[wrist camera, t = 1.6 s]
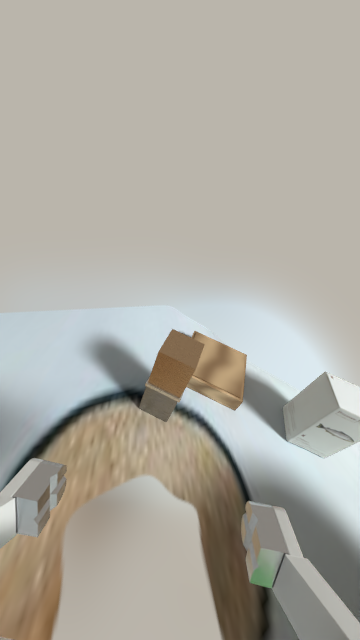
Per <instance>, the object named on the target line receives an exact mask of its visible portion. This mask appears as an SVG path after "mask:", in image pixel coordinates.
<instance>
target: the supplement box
mask: <svg viewBox="0 0 360 640" xmlns="http://www.w3.org/2000/svg"><path fill="white" fill-rule="evenodd" d="M283 416H284V425H285V432H286V439H287V441H288V442H290V443H293V444H295V445H297V446H300V447H302V448H304V449H306V450H308V451H310V452H312V453H314V454H316V455H318V456H320V457H322V458H327V457H329V456H331V455H333V454H335V453H337V452H339V451H341V450H343V449H345V448H347V447H349V446H351V445H353V444H355V443H357V442H359V441H360V387H359V386H357V385H354V384H352V383H350V382H348V381H345V380H343V379H341V378H339V377H336V376H334V375H332V374H329V373H327V372H324V373H323V374H322V375H320V376H319V377H318V378H317V379H316V380H315V381H313V382H312V383H311V384H310V385H309V386H307V387H306V388H305V389H304V390H303V391H301V392H300V393H299V394H298V395H297V396H295V397H294V398H293V399H292V400H291V401H289V402H288V403H287V404H286V405H285V406H283Z"/></svg>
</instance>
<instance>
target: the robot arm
mask: <svg viewBox="0 0 360 640" xmlns="http://www.w3.org/2000/svg"><path fill="white" fill-rule="evenodd" d="M66 471H67V468H66V465H63V464H58V463H54V462H50V461H45V460H41V459H36V458H33V459H31V460H30V461H28V462H27V464H26V465H25V466H24V467H23V468H22V469H21V470H20V471H19V472H18V474H17V475H16V476H15V477H14V478H13V479H12V480H11V481H10V482H9V484H8V485H7V486H6V487H5V488H4V489H3V490H2V491H1V492H0V548H1V547H3V546H4V545H5V544H6V543H7V542H9V541H10V540H11V539H12V538H13V537H15V536H16V533H17V534H23V535H28V536H34V537H38V536H39V534H40V533H41V531H42V529H43V528H44V526H45V524H46V523H47V521H48V519H49V517H50V510H52V509H53V508H54V507H56V506H57V504H58V503H59V501H60V499H61V497H62V495H63V493H64V490H65V486H66V478H65V477H64V474H65V473H66ZM245 509H246V513H245V514H244V515H243V517H242V521H241V535H242V542H243V545H244V547H245V549H246V550H247V555H246V559H245V560H246V565H247V571H248V577H249V582H250V583H252V584H256V585H260V586H264V587H268V588H272V591H273V593H274V594H275V596H276V598H277V600H278V602H279V603H280V605H281V607H282V609H283V611H284V613H285V614H286V616H287V618H288V620H289V622H290V623H291V625H292V627H293V629H294V631H295V633H296V634H297V636H298V638H299V640H360V623H359V621H358V620H357V619H356V618H355V616H354V615H353V614H352V613H351V611H350V610H349V609H348V608H347V607H346V605H345V604H344V603H343V602H342V600H341V599H340V598H339V597H338V595H337V594H336V593H335V592H334V591H333V589H332V588H331V587H330V586H329V584H328V583H327V582H326V581H325V579H324V578H323V577H322V576H321V575H320V573H319V572H318V571H317V570H316V568H315V567H314V566H313V565H312V563H311V562H310V561H309V560H308V559H307V558H304V557H303V554H302V552H301V549H300V547H299V544H298V541H297V539H296V536H295V534H294V531H293V528H292V526H291V523H290V520H289V518H288V515H287V513H286V510H285V509H284V508H282V507H277V506H271V505H268V504H263V503H257V502H252V501H248V502H247V503H246V506H245ZM0 640H14V639H9V638H5V637H1V636H0Z"/></svg>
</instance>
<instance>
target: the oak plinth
mask: <svg viewBox="0 0 360 640" xmlns="http://www.w3.org/2000/svg"><path fill="white" fill-rule="evenodd" d="M192 338H193V339H195V340H197V341H199V342H201V343H203V344H205V345H204V348H203V351H202V353H201V356H200V359H199V362H198V365H197V367H196V370H195V372H194V374H193V375H192V377H191V379H190V381H189V383H188V384H187V386H186V387H188V388H190V389H192V390H194V391H196V392H198V393H200V394H202V395H204V396H206V397H208V398H210V399H212V400H214V401H217V402H219V403H221V404H223V405H225V406H227V407H229V408H231V409H233V410H236V409H237V408H238V407H239V406H240V405H241V403H242V402H243V391H244V380H245V369H246V357H247V355H246V354H243V353H241V352H239V351H237V350H235V349H233V348H231V347H228V346H226V345H224V344H222V343H220V342H218V341H216V340H213V339H211V338H209V337H207V336H205V335H203V334H201V333H198V332H196V331H194V333H193V336H192Z"/></svg>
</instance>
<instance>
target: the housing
mask: <svg viewBox="0 0 360 640" xmlns="http://www.w3.org/2000/svg"><path fill="white" fill-rule="evenodd" d="M204 345H205V344H203V343H201V342H199V341H197V340H195V339H193V338H191V337H188V336H186V335H184V334H182V333H180V332H178V331H176V330H174V329H172V331H171V332H170V334H169V336H168V337H167V339H166V340H165V342H164V344H163V345H162V347H161V349H160V350H159V352H158V355H157V358H156V361H155V363H154V366H153V369H152V372H151V375H150V377H149V379H148V380H147V382H146V384H145V386H146V389H145V392H144V395H143V397H142V400H141V403H140V406H139V409H141V410H143V411H145V412H147V413H149V414H151V415H153V416H155V417H157V418H159V419H161V420H163V421H165V422H167V420H168V419H169V417H170V415H171V413H172V411H173V410H174V408H175V406H176V404H177V402H180V400H181V398H182V395H183V392H184V390H185V388H186V386H187V384H188V383H189V381H190V379H191V377H192V375H193V374H194V372H195V370H196V367H197V365H198V362H199V359H200V356H201V353H202V351H203V348H204Z"/></svg>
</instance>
